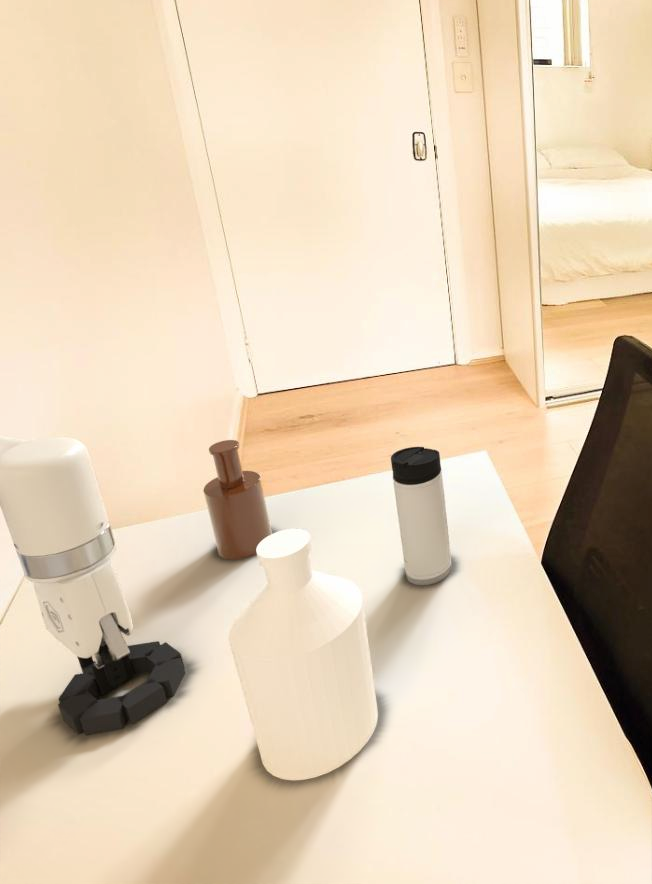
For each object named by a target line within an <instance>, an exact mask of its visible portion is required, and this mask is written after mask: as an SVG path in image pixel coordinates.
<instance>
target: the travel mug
mask: <svg viewBox="0 0 652 884" xmlns="http://www.w3.org/2000/svg"><path fill="white" fill-rule="evenodd" d="M440 454H441V453H440V451H439V450H437V449H433V448H428V447H427V448H426V447H425V446H411V447H405V448H402V449H399V450H397V451H395V452H394V453H392V455H391V456H390V463H391V471H392V481H393V489H394V496H395V503H396V512H397V520H398V527H399V534H400V540H401V541H400V542H401V549H402V555H403V563H404V570H405V577H406V579H407V581H408V582H409V583H411V584H413V585H416V586H429V585H433V584H436V583H438V582H441V581H442V580H444V579H445V578H446V577H447V576H448V575H450V572H451V571H452V568H453V565H452V564H453V563H452V556H451V546H450V536H449V535H450V534H449V526H448V517H447V508H446V498H445V489H444V480H443V471H442V465H441V455H440Z"/></svg>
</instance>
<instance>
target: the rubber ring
mask: <svg viewBox="0 0 652 884" xmlns="http://www.w3.org/2000/svg"><path fill="white" fill-rule="evenodd" d="M127 646H128V648H129V650H130V654H128V656H129V659H130V662H131V666H132V669H133V672H134V676H135V675H142V674H147V673H150V675H149V676H148V678H147V679H146V680H145V681H144V682H142V683H141V684H139V685H137V686H136V687H134V688H133V689H131V690H129V691H127V692H126V693H124V694H123V695H119V696H113V697H106V698H100V699H99V697H100V695H102V694H101V693H100V692H99V689H98V686H97V683H96V680H95V677H94V674H93V671H92V668H91V667H93V666H94V665H95V664H94V663H92V664H90V665H88V666H87V667H85V668H83V669H81V671H82V670H83V672H82V673H76V674H74V675H73V676H72V678H71V679H70V681H69V682H68V683H67V685H66V686H65V688H64V690H63V691H62V693H61V694H60V695H59V696H58V702H59V703H57V706H58V709H59V711H60V712H59V713H60V714H61V717H62V720H63V721H64V722H65V724H67V725H68V727H70V728H71V729H72V730H73V731H74V732H75V733H76V734H77V735H80V734H82V733H83V732H84V735H85V736H90V735H95V734H102V733H106V732H113V731H118V730H123V729H124V727H125V725H126V724H127V722H129V723H130V724H131V725H133V726H134V725H135V724H137V723H138V722H139V721H141V720H143V719H145V718H146V717H147V716H149V715H151V714H152V713H153V712H155V711H158V709H159V708H161V707H163V706H164V705H166V704H168V698H171V697H174V696H175V694H176V692H177V691H178V688H179V687H180V684H181V683H182V681H183V679H184V676H185V675H186V671H185V665H184V661H183V657H182V653H181V652H179V651H178V650H177V649H176V648H174V647H173V646H172V645H170V644H169V643H168V642H166V641H165V642H163V643H161V642H160V641H158V640H157V641H150V642H143V643H137V644H131V645H127Z"/></svg>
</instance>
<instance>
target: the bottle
mask: <svg viewBox="0 0 652 884" xmlns="http://www.w3.org/2000/svg"><path fill="white" fill-rule="evenodd" d="M312 551H313V545H312V539H311V534H310V532H308V531H307V530H305V529H302V528H288V529H283V530H279V531H276V532H274V533H272V534H271V535H269V536H268V537H266V538H265V539H263V540H262V541H261V542H260V543H259V544H258V546H257V548H256V552H257V554H256V556H257V560H258V564H259V565H260V567H262V568H263V570H264V573H265V577H266V581H267V584H266V585H265V586H264V587H263V589H261V591H260V592H259V593H258V595H256V596H255V598H254V599H253V600H251V601H250V602H249V604H247V605H246V606H245V607H244V608H243V609H242V610H241V611H240V612H239V613H238V615H237V616H236V617H235V618H234V620H233V622H232V624H231V626H230V628H229V631H228V642H229V647H230V651H231V654H232V658H233V661H234V665H235V668H236V672H237V676H238V679H239V683H240V686H241V690H242V694H243V697H244V701H245V705H246V708H247V713H248V715H249V719H250V722H251V726H252V729H253V733H254V738H255V741H256V744H257V748H258V752H259V755H260V759H261V762H262V765H263V767H264V768H265V770H266V771H267V772H268V773H269V774H270V775H272V776H273V777H276V778H278V779H281V780H286V781H303V780H309V779H314V778H317V777H320V776H322V775H326V774H328V773H330V772H332V771H334V770H336V769H339V768H340V767H342V766H343V765H344V764H346V763H347V762H349V761H350V760H351V759H353V758H354V757H355V756H356V755H357V754H359V752H361V751H362V749H363V748H364V747H365V746H366V744H367V743H368V742H369V740H370V739H371V737H372V736H373V734H374V732H375V729H376V727H377V725H378V718H379V712H378V710H379V709H378V703H377V697H376V696H377V695H376V689H375V682H374V681H375V680H374V673H373V666H372V659H371V654H370V653H371V652H370V643H369V638H368V630H367V622H366V615H365V606H364V601H363V594H362V592H361V589H360V588H359V586H357V584H356V583H354V582H353V581H351V580H349V579H347V578H344V577H340V576H336V575H330V574H326V573H323V572H321V571H318V570H314V569H313V567H312V566H313V565H312V559H311V552H312Z"/></svg>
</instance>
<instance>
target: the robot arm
mask: <svg viewBox="0 0 652 884" xmlns="http://www.w3.org/2000/svg"><path fill="white" fill-rule="evenodd" d="M0 509H1V512H2V514H3V517H4V520H5V523H6V526H7V529H8V532H9V534H10V537H11V540H12V543H13V546H14V549H15V551H16V554H17V557H18V560H19V563H20V566H21V568H22V572H23V574H24V577H25V579H26V580H28V581H29V582H32V583H33V588H34V591H35V594H36V599H37V603H38V606H39V609H40V610H39V611H40V613H41V617H42V620H43V623H44V627H45V629H47V631H48V632H49V634H51V635H52V636H53V637H54V638H55V639H56V640H57V641H59V643H61V644H62V645H63V646H64V647H65V648H67V649H68V650H69V651H70V652H71V653H72V654H74V655H75V656H76V658H77V661H78V663H79V666H80V669H81V672H82V673H83V670H82V669H83V668H85V667H87V666H88V665H90V664H92V663H94V664H95V665H94V666H93V667H91V668H92V671H93V674H94V677H95V680H96V683H97V686H98V689H99V692H100V693H101V694H100V695H103V696H104V695H106V694H107V695H108V694H109V693H110V692H112V691H114V690H115V689H117V688H118V687H120V686H122V685H124V684H125V683H127V682H128V681H130V680H132V679H133V678H134V676H135V675H134V672H133V669H132V666H131V662H130V659H129V656H128V654H130V650H129V648H128V646H129V645H128V644H127V642H126V640H125V638H124V636H123V635H125V636H131V634H132V633H133V630H134V625H133V620H132V616H131V612H130V609H129V606H128V603H127V600H126V596H125V594H124V591H123V589H122V585H121V584H120V581H119V578H118V573H117V572H116V570H115V567H114V565H113V563H112V561H111V558H112V556H113V555H114V554H115V552H116V550H117V544H116V541H115V537H114V533H113V529H112V526H111V523H110V520H109V517H108V513H107V510H106V506H105V503H104V498H103V496H102V492H101V488H100V485H99V481H98V479H97V476H96V473H95V468H94V466H93V462H92V459H91V455H90V453H89V450H88V447H87V446H86V445H85V444H84V443H83V442H82V441H81V440H78V439H76V438H72V437H67V436H52V437H45V438H40V439H25V438H18V437H10V436H4V435H0Z"/></svg>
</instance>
